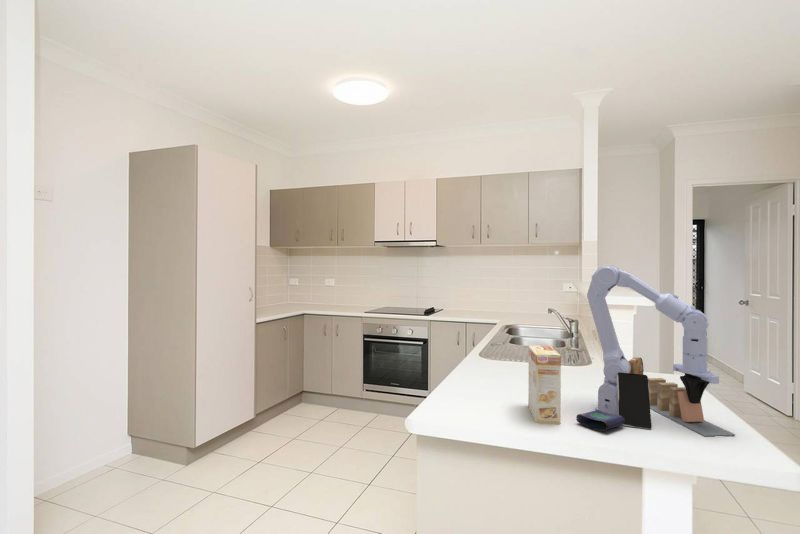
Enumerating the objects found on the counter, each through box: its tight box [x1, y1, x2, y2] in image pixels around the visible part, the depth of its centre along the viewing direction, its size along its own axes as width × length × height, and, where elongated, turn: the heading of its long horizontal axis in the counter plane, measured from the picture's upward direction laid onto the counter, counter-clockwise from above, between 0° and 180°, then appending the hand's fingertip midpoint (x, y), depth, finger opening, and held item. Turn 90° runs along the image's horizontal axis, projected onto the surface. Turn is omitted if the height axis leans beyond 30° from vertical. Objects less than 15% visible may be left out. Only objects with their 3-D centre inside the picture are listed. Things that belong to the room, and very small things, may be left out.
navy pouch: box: [575, 410, 625, 432], centre depth 119 cm, size 9×3×11 cm
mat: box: [650, 405, 737, 438], centre depth 129 cm, size 34×8×1 cm, turn 4°
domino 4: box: [678, 391, 705, 422], centre depth 122 cm, size 2×5×8 cm, turn 94°
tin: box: [628, 357, 644, 375], centre depth 167 cm, size 15×3×8 cm, turn 139°
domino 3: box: [669, 386, 686, 417], centre depth 126 cm, size 2×5×8 cm, turn 95°
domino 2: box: [657, 381, 679, 411], centre depth 131 cm, size 2×5×8 cm, turn 95°
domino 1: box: [648, 377, 667, 406], centre depth 137 cm, size 2×5×8 cm, turn 94°
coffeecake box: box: [527, 344, 562, 425], centre depth 128 cm, size 15×7×20 cm, turn 171°
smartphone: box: [617, 372, 652, 430], centre depth 121 cm, size 8×1×15 cm
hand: (694, 402), depth 121 cm, fingers closed
